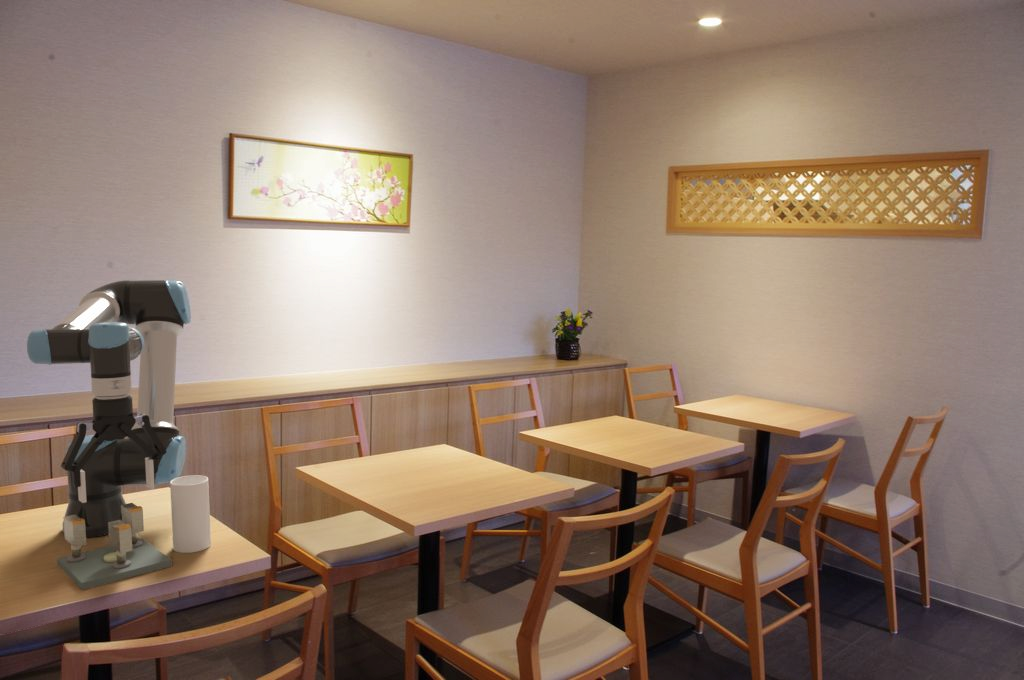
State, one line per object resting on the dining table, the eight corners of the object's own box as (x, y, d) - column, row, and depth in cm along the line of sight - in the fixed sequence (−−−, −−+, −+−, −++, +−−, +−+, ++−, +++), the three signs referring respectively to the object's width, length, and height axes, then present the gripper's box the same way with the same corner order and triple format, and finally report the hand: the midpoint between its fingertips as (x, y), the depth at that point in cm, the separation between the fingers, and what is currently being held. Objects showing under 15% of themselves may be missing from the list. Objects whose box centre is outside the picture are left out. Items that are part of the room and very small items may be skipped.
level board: (57, 564, 175) (56, 554, 175) (142, 544, 188) (141, 534, 187) (82, 590, 162) (81, 579, 162) (171, 566, 175) (171, 555, 175)
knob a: (65, 552, 176) (63, 514, 175) (77, 549, 178) (75, 512, 177) (75, 561, 171) (72, 522, 170) (87, 558, 173) (84, 520, 172)
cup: (188, 555, 181) (184, 487, 179) (165, 548, 185) (162, 481, 183) (218, 544, 188) (215, 478, 186) (196, 537, 192) (193, 473, 190)
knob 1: (110, 558, 173) (108, 520, 172) (122, 555, 175) (119, 517, 174) (121, 568, 168) (119, 528, 167) (133, 564, 170) (131, 525, 169)
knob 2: (122, 539, 185) (120, 502, 184) (133, 536, 186) (131, 500, 185) (133, 547, 180) (131, 510, 179) (144, 544, 181) (142, 507, 180)
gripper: (50, 406, 156) (57, 511, 158) (179, 391, 173) (183, 486, 175) (40, 401, 161) (46, 503, 163) (166, 387, 178) (170, 479, 181)
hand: (117, 494), depth 169 cm, fingers open, 13 cm apart
